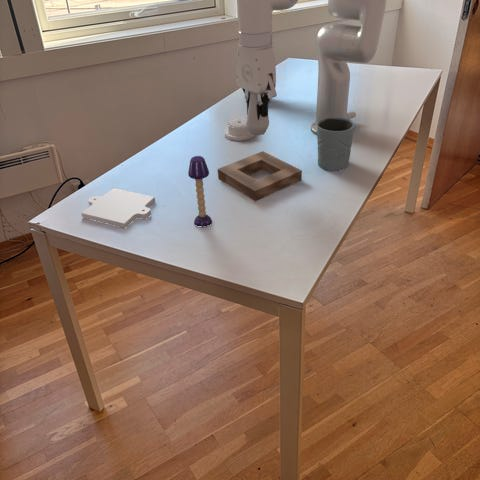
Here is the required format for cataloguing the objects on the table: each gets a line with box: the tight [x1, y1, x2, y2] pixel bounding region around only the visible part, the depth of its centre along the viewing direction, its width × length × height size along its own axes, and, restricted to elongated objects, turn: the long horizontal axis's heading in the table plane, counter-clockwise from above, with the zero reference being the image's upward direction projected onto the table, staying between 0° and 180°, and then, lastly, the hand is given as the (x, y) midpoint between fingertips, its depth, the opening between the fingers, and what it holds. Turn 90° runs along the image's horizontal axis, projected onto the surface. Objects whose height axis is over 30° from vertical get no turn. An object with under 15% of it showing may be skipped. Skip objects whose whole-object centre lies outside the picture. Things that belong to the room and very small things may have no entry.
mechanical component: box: [223, 117, 256, 142], centre depth 153 cm, size 10×4×10 cm
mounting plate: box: [80, 187, 156, 229], centre depth 120 cm, size 18×13×2 cm
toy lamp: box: [187, 155, 213, 228], centre depth 109 cm, size 5×5×17 cm
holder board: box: [217, 150, 303, 202], centre depth 129 cm, size 16×16×3 cm
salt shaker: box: [246, 90, 270, 137], centre depth 118 cm, size 6×6×13 cm
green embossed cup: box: [316, 117, 356, 172], centre depth 131 cm, size 10×10×12 cm
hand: (257, 116), depth 119 cm, fingers closed on salt shaker, 3 cm apart
